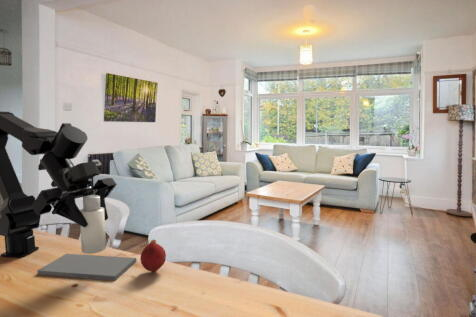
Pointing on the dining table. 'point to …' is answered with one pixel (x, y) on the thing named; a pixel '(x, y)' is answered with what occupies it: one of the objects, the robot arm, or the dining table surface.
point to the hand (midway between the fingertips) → (96, 222)
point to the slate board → (88, 266)
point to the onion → (153, 256)
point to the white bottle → (93, 225)
